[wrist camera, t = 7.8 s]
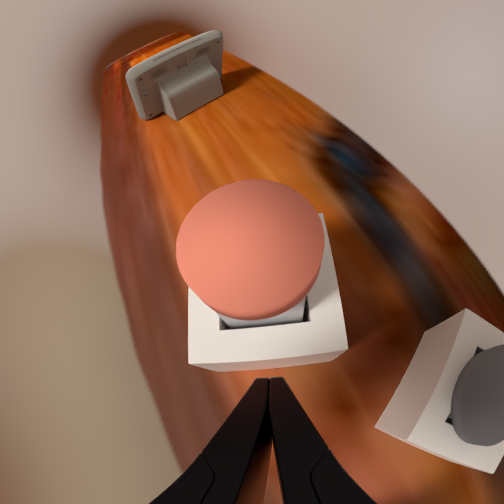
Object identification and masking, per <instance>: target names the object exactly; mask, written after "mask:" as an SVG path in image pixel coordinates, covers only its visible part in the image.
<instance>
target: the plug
mask: <svg viewBox="0 0 504 504" xmlns="http://www.w3.org/2000/svg"><path fill="white" fill-rule="evenodd" d="M445 422H446V423H448V424H450V425H452V426H453V427H454V430H455V432H456V434H457V435H458V436H459V438H460V439H462V440H463V441H464V442H466V443H469V444H474V445H480V446H493V445H496V444H498V443H500V442H502V441H503V440H504V344H503V345H498V346H495V347H492V348H489V349H486V350H484V351H481V352H479V353H478V354H476V355H474V357H472V358H471V359H470V360H469V361H468V363H467V364H466V365H465V366H464V368H463V369H462V371H461V373H460V375H459V377H458V379H457V381H456V384H455V387H454V390H453V394H452V400H451V411H450V413H449V415H448V417H447V419H446V421H445Z"/></svg>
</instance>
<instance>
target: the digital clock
mask: <svg viewBox="0 0 504 504" xmlns="http://www.w3.org/2000/svg"><path fill="white" fill-rule="evenodd" d="M222 52H223V35H222V32H220V31H219V30H213V31H209V32H206V33H203V34H200V35H198V36H195V37H193V38H190V39H188V40H186V41H183V42H181V43H179V44H177V45H174V46H172V47H170V48H168V49H166V50H164V51H162V52H160V53H158V54H156V55H154V56H152V57H150V58H148V59H146V60H144V61H142V62H140V63H139V64H137V65H135V66H133V67H132V68H130V69H129V70H128V72H127V73H126V81H127V84H128V87H129V90H130V93H131V96H132V99H133V101H134V104H135V107H136V110H137V113H138V115H139V117H140V118H141V119H143V120H149V119H151V118H153V117H155V116H156V115H158V114H160V113H161V112H164V113H165V114H167V115H168V116H170V117H171V118H173V119H174V120H175V121H178V120H179V119H181V118H183V117H184V116H186V115H188V114H189V113H191V112H193V111H194V110H196V109H198V108H199V107H201V106H203V105H205V104H207V103H208V102H210V101H212V100H214V99H216V98H218V97H219V96H221V95H223V94H224V93H223V89H222V85H221V81H220V78H221V76H222Z"/></svg>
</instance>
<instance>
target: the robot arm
mask: <svg viewBox="0 0 504 504" xmlns="http://www.w3.org/2000/svg"><path fill="white" fill-rule="evenodd" d="M272 439H273V446H274V452H275V458H276V465H277V471H278V477H279V483H280V489H281V495H282V501H283V504H377V503H376V502H375V501H374V500H373V499H372V498H371V497H370V496H369V495H368V494H367V493H366V492H365V491H364V490H363V489H362V488H361V487H360V486H359V485H358V484H357V483H356V482H355V481H354V480H353V479H352V478H351V477H350V476H349V475H348V473H347V472H346V471H345V470H344V469H343V467H342V466H341V465H340V463H339V462H338V461H337V459H336V458H335V456H334V455H333V453H332V452H331V450H329V448H328V446H327V445H326V443H325V442H324V440H323V439H322V437H321V436H320V434H319V433H318V431H317V430H316V428H315V426H314V425H313V423H312V422H311V420H310V419H309V417H308V416H307V414H306V413H305V411H304V409H303V408H302V406H301V405H300V403H299V402H298V400H297V398H296V397H295V395H294V394H293V392H292V390H291V389H290V387H289V386H288V384H287V382H286V381H285V379H284V378H283V377H271V378H270V380H269V378H256V379H255V380H254V382H253V383H252V385H251V386H250V387H249V389H248V390H247V392H246V393H245V395H244V396H243V397H242V399H241V400H240V402H239V403H238V404H237V406H236V407H235V408H234V410H233V411H232V413H231V414H230V415H229V417H228V418H227V419H226V421H225V422H224V423H223V425H222V426H221V427H220V429H219V430H218V431H217V433H216V434H215V435H214V437H213V438H212V439H211V440H210V442H209V443H208V444H207V446H206V447H205V448H204V449H203V451H202V453H200V454H199V455H198V457H197V458H196V459H195V461H194V462H193V463H192V464H191V465H190V466H189V467H188V469H187V470H186V471H185V472H184V473H183V474H182V475H181V476H180V477H179V478H178V479H177V480H176V481H175V482H174V483H173V484H171V485H170V486H169V487H168V488H167V489H166V490H165V491H163V492H162V493H161V494H160V495H159V496H158V497H157V498H155V499H154V500H153V501H152V502H150V503H149V504H263V500H264V494H265V488H266V482H267V475H268V469H269V462H270V455H271V448H272Z"/></svg>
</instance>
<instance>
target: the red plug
mask: <svg viewBox="0 0 504 504" xmlns="http://www.w3.org/2000/svg"><path fill="white" fill-rule="evenodd" d="M324 244H325V236H324V229H323V225H322V222H321V219H320V217H319V215H318V213H317V211H316V210H315V208H314V207H313V205H312V204H311V203H310V202H309V201H308V200H307V199H306V198H305V197H304V196H303V195H302V194H300V193H299V192H297V191H296V190H294V189H292V188H290V187H288V186H286V185H283V184H281V183H277V182H273V181H268V180H244V181H238V182H234V183H231V184H227V185H225V186H222V187H220V188H218V189H216V190H214V191H212V192H211V193H209V194H208V195H206V196H205V197H204V198H202V199H201V200H200V201H199V202H198V203H197V204H196V205H195V206H194V207H193V208H192V209H191V211H190V212H189V213H188V215H187V216H186V218H185V219H184V221H183V223H182V225H181V228H180V230H179V234H178V237H177V243H176V258H177V264H178V267H179V270H180V273H181V275H182V277H183V279H184V280H185V282H186V283H187V285H188V286H189V287H190V288H191V289H192V290H193V292H194V293H195V294H196V295H197V296H198V297H199V298H200V299H201V300H202V301H203V302H204V303H205V304H206V305H207V306H208V307H210V308H211V309H212V310H214V311H215V312H216V313H217V314H218V315H219V316H220V317H221V319H222V320H223V321H224V322H225V323H226V324H227V325H228V326H229V327H230V328H231V329H244V328H256V327H266V326H276V325H285V324H294V323H302V319H303V312H304V305H305V298H306V295H307V294H308V293H309V291H310V290H311V288H312V287H313V285H314V283H315V281H316V279H317V277H318V274H319V271H320V267H321V262H322V257H323V252H324Z"/></svg>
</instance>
